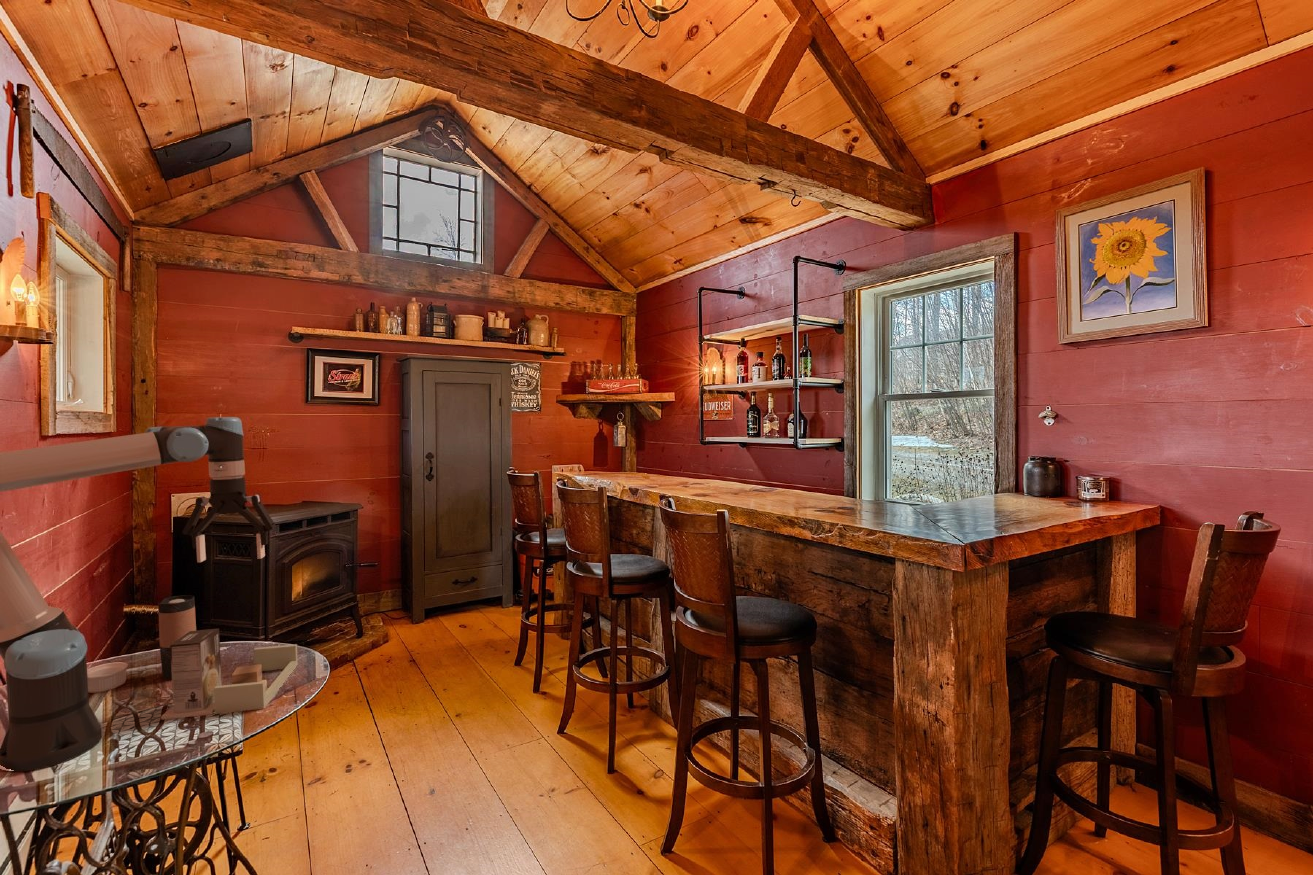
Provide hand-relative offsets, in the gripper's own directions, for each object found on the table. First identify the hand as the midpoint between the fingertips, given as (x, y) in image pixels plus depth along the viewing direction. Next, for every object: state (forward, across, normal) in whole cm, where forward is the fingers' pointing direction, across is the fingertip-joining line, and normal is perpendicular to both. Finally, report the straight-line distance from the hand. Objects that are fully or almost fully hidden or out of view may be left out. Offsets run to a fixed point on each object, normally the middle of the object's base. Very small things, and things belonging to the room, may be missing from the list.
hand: (231, 559), depth 158 cm
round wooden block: (+31, -30, +2) cm, 44 cm away
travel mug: (+31, -16, +5) cm, 35 cm away
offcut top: (+27, +8, -16) cm, 32 cm away
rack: (+31, +8, -9) cm, 33 cm away
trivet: (+31, -2, -16) cm, 35 cm away
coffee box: (+30, -2, -16) cm, 34 cm away
